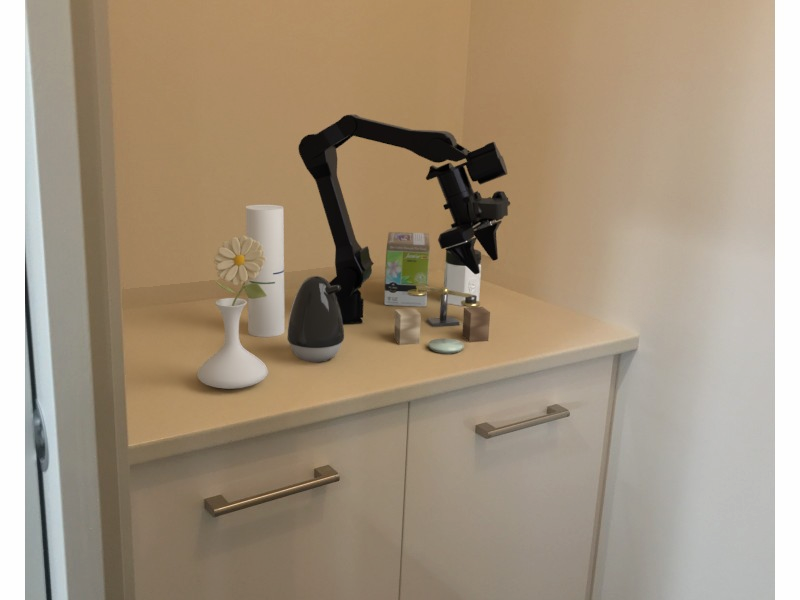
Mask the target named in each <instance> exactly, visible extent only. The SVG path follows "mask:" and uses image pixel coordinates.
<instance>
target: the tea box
mask: <svg viewBox="0 0 800 600" xmlns="http://www.w3.org/2000/svg"><path fill="white" fill-rule="evenodd" d="M430 243H431V242H430V235H429V233H425V232H424V233H423V232H403V231H402V232H400V231H389V232H388V235H387V242H386V250H385V251H386V252H385V272H384V274H385V275H384V298H383V299H384V300H383V301H384V303H383V304H384V305H385V306H394V307H395V306H396V307H417V308H418V307H420V308H421V307H426V306H427V299H428V298H427V297H428V294H427V295H426V296H410V295H408V290H412V289H417V288H416V285H417V284H418V285H424V286H429V285H428V284H429V268H430V251H431V249H430V247H431V244H430ZM425 291H427V290H425ZM427 292H428V291H427Z"/></svg>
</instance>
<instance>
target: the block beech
mask: <svg viewBox="0 0 800 600" xmlns="http://www.w3.org/2000/svg"><path fill="white" fill-rule="evenodd" d="M421 317H422V316H421V313H420V312H419V311H418V310H417V309H416V308H404V309H403V308H399V309H395V310H394V331H393V332H394V333H393V334H394V335H393V339H394V341H396V343H397V344H398V345H399V346H405V345H420V341H421V340H420V338H421Z"/></svg>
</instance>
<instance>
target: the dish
mask: <svg viewBox="0 0 800 600" xmlns="http://www.w3.org/2000/svg"><path fill="white" fill-rule="evenodd" d="M428 348H429V349H430V350H431V351H433V352H435V353H438V354H444V355H445V354H447V355H449V354H450V355H451V354H457V353H459V352H461V351H462V350H463V349H464V343H463V342H462V341H460V340H457V339H452V338H435V339H431V340H429V341H428Z"/></svg>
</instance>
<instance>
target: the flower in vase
mask: <svg viewBox="0 0 800 600" xmlns="http://www.w3.org/2000/svg"><path fill="white" fill-rule="evenodd" d="M262 248H263V246H262V245H261V244H259V242H257V241H255V240H252V238H248V237H246V235H243V234H242V235H241V236H238V237H236V236H233V237H232V238H231V239H229V240H225V241H224V242H223V243H222V245H221V247H218V248H217V254H216V255H214V260H213V263H214V265H216V266H215V270H216V271H218V272H216V275H217V277H219V278H220V279H222V280H224V282H229V283H230V284H231V285H233V286H237V285H242V286H241V288H240V290H239V291H238V293H236V292H235V291H234V290H233V289H232V288H231V287H228V286H227V285H224V284H223V283H220V282H219V281H217V279H216V278H215V282H216V284H217V285H218V286H220V287H221V288H223V289H225V290H227V291H229V292H230V293H232V294H234V295H236V296H235V297H226V298H220V299H217V300H216V301H215V302H214V304H215V306H217V308H218V310H219V311H220V314H221V316H222V320H223V326H224V327H223V328H224V342H223V345H222V346H221V348H220V349H219V350H217V352H216V353H214V354H212V355H211V356H210V357H209V358H207V359H206V360H205V361H204V362H203V364H201V366H199V369H198V371H197V378H198V380H199V381H200V382H201V383H202V384H204V385H207V386H210V387H213V388H219V389H225V390H227V389H228V390H229V389H242V388H247V387H251V386H253V385H256V384H258V383H260V382H262V381H264V379H265V378H267V375H268V373H269V370H268V368H267V366H266V365H267V364H265V363H264V362H263V361H262V360H261V359H260V358H259V357H257V356H256V355H254V354H253V353H252V352H251V351H248V350H247V349H246V348H244V346H243V345H242V343H241V341H240V333H239V332H240V318H241V314H242V312H243V309H244V308H245V306H246V305H247V304H248V300H246V299H244V298H239V296H241V293H242V292H243V291H244V293H245V295H246V296H247V298H248V297H249V298H251V299H255V298H261V297H265V296H267V295H266V294H265V292H264V291H263V289H262V288H261V287H260V286H259V285H258V284H257V283H251V284H248V285H247V281H251V280H252V279H255V278H256V276H258V271H260V270H262V266H263V265H264V262H265V261H266V258H265V257H263V255H264V251H263V250H262Z"/></svg>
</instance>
